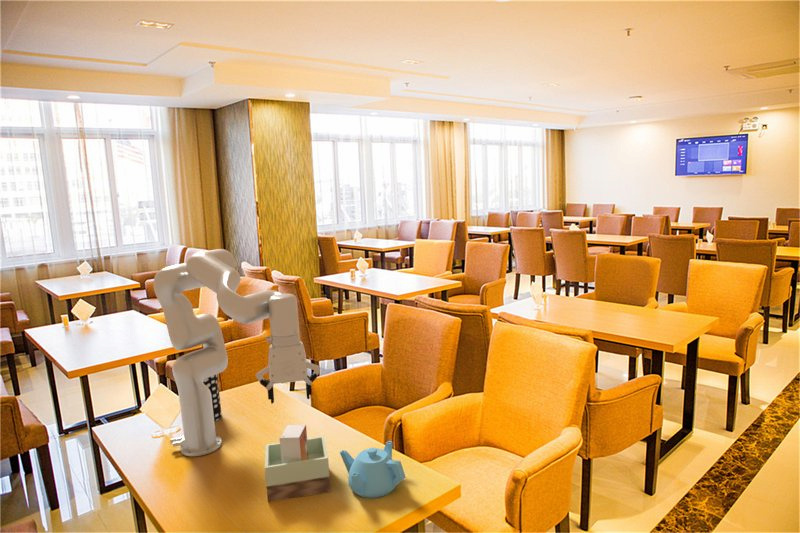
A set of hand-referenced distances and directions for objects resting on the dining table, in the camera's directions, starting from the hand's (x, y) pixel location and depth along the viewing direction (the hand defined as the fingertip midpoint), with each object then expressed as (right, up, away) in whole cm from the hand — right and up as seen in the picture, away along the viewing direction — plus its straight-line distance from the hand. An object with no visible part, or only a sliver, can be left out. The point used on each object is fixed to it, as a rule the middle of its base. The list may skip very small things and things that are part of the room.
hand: (290, 399), depth 147 cm
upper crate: (+2, -20, +2) cm, 20 cm away
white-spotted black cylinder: (-39, -19, +47) cm, 64 cm away
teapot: (+23, -24, 0) cm, 33 cm away
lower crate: (+2, -24, +2) cm, 24 cm away
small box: (+1, -19, +2) cm, 19 cm away
